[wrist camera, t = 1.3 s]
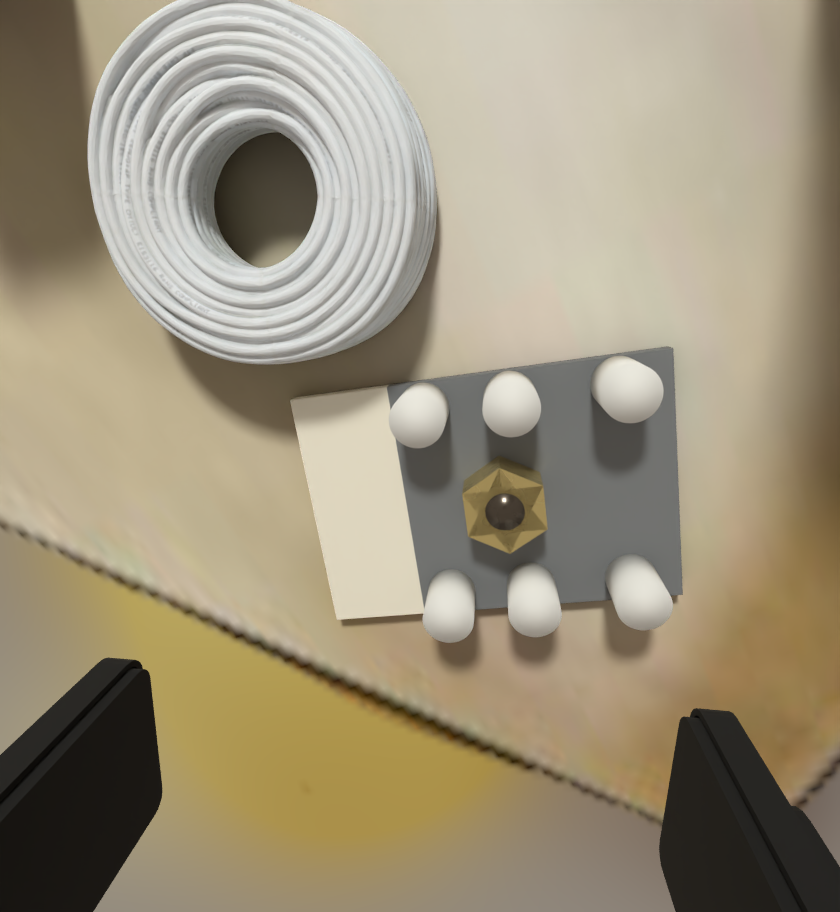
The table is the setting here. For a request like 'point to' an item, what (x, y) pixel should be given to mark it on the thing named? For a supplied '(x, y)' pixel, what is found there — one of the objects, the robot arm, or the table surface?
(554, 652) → the table surface
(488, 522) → the nut
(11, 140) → the table surface
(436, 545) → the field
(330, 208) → the cable
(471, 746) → the table surface
